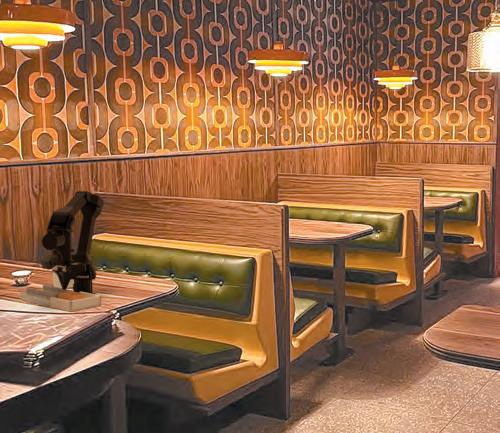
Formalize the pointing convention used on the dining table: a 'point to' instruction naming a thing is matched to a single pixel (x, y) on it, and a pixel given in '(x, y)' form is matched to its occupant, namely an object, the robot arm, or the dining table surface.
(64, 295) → the orange rounded block
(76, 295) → the orange cube
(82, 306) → the chip tray
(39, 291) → the slot plate
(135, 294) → the dining table surface
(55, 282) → the jar
